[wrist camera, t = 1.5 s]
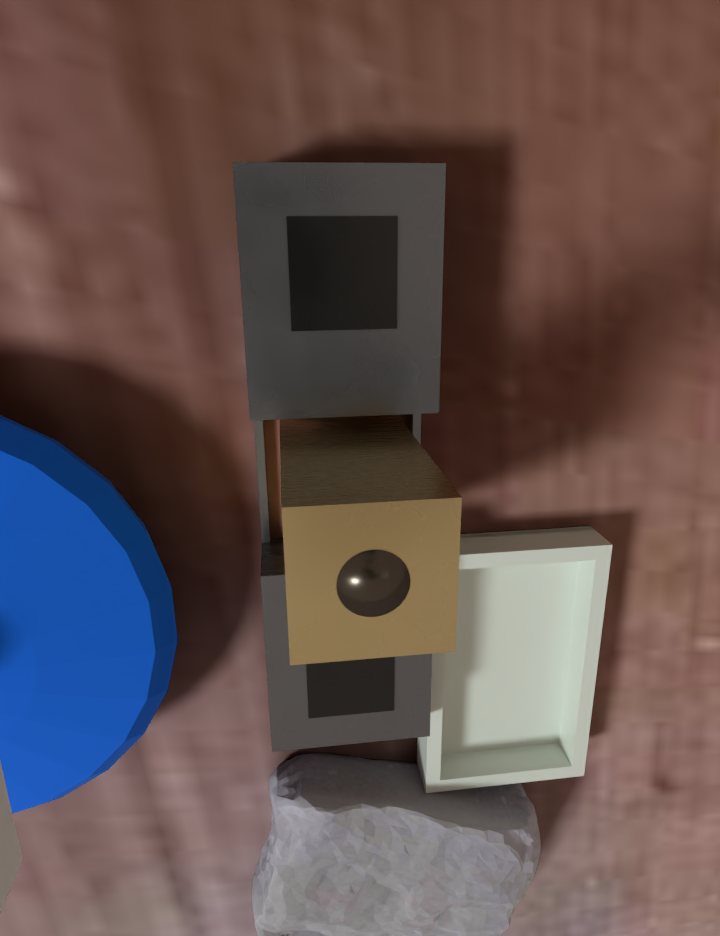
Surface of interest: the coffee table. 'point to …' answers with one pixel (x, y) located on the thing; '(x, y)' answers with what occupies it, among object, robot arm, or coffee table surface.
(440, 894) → the stone block
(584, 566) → the parts tray
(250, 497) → the coffee table surface
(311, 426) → the wooden drawer with knob
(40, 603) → the blue funnel disc
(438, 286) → the rack rail
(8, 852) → the robot arm
